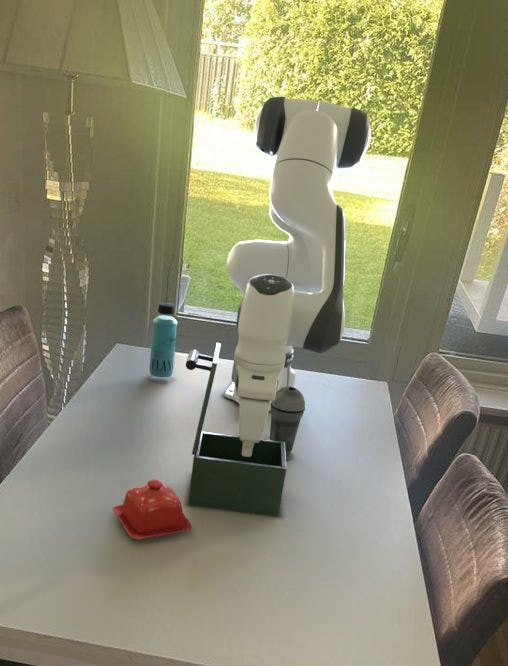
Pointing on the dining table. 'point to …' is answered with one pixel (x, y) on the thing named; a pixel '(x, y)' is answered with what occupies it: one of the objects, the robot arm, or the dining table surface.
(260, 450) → the green box
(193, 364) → the green box lid
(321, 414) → the dining table surface
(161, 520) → the butter dish
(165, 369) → the beverage bottle
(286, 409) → the beverage cup
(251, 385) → the robot arm
